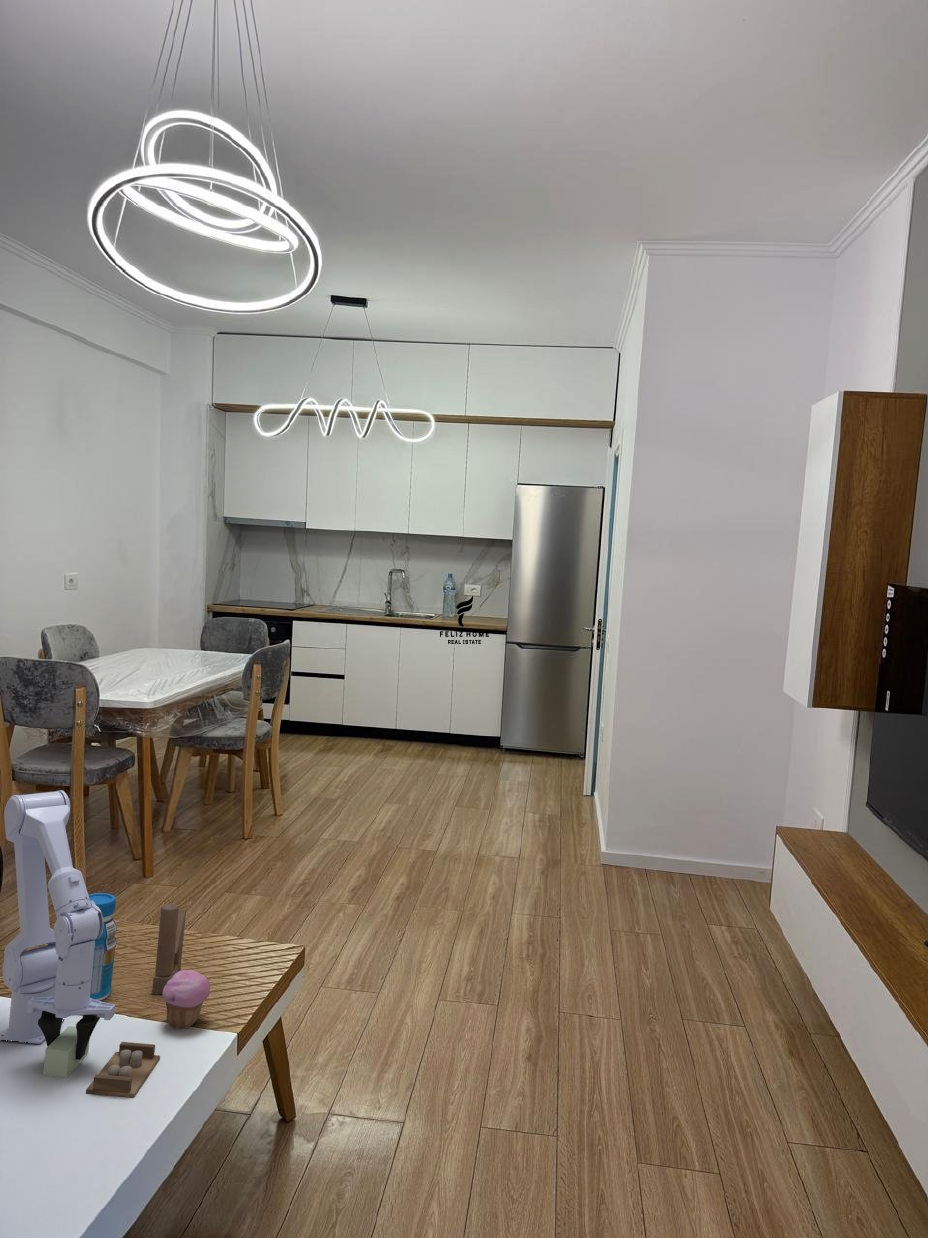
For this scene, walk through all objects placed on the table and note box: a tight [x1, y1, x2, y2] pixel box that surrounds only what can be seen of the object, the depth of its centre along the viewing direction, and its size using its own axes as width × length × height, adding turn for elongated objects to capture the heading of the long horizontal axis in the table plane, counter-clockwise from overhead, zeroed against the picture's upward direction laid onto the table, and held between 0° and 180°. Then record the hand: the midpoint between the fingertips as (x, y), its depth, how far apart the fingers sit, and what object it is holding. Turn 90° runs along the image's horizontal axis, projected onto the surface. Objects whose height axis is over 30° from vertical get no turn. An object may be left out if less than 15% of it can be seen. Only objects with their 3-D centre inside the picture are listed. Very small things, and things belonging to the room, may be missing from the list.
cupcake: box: [161, 969, 211, 1029], centre depth 163 cm, size 9×9×10 cm
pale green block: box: [42, 1025, 91, 1078], centre depth 146 cm, size 8×4×4 cm, turn 179°
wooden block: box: [151, 903, 187, 995], centre depth 179 cm, size 4×11×18 cm, turn 7°
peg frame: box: [85, 1041, 161, 1098], centre depth 144 cm, size 12×8×3 cm, turn 0°
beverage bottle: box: [88, 892, 118, 1001], centre depth 171 cm, size 8×8×20 cm
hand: (67, 1055), depth 146 cm, fingers closed on pale green block, 4 cm apart
